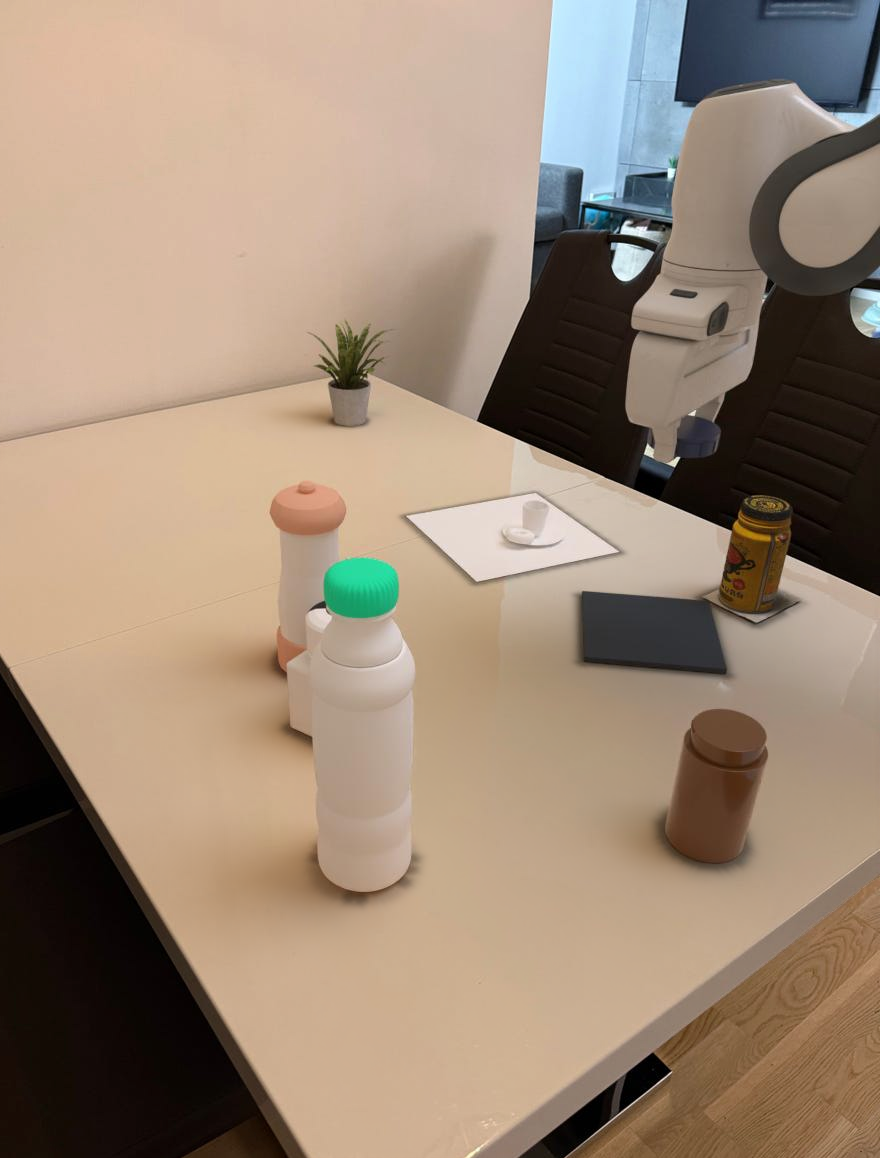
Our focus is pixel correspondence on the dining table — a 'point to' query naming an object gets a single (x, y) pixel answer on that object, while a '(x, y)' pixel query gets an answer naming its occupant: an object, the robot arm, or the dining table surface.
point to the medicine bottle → (305, 671)
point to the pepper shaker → (304, 557)
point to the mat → (650, 632)
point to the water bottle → (362, 729)
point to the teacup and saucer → (509, 536)
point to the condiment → (756, 560)
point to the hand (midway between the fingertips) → (682, 448)
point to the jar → (716, 785)
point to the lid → (694, 437)
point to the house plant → (350, 376)
